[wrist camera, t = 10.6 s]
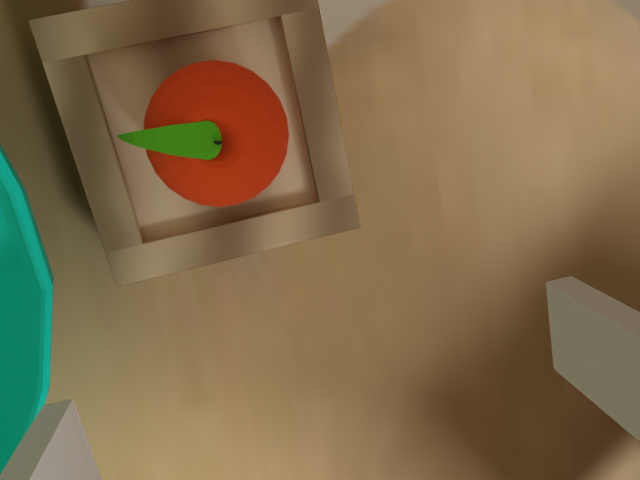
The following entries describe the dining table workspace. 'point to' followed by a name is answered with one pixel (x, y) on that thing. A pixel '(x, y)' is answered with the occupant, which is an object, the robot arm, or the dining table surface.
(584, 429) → the dining table surface
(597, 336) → the robot arm
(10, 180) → the table top decor
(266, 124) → the clementine
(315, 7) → the tray
